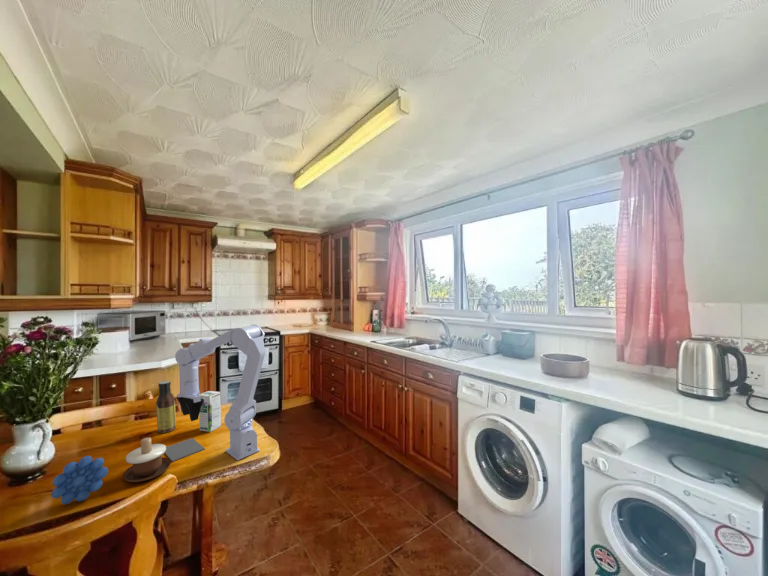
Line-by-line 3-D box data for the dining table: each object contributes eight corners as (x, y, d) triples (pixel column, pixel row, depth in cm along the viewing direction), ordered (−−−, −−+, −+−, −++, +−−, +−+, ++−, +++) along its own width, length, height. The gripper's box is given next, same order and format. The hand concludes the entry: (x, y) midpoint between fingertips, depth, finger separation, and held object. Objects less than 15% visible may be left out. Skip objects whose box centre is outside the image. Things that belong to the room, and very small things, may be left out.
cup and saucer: (120, 474, 99) (119, 455, 99) (166, 458, 108) (165, 440, 108) (126, 492, 91) (125, 470, 91) (175, 473, 99) (174, 454, 99)
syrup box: (198, 430, 128) (197, 394, 127) (210, 424, 133) (209, 390, 133) (210, 432, 126) (209, 396, 126) (221, 425, 132) (220, 391, 131)
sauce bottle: (165, 426, 132) (163, 379, 131) (179, 426, 131) (178, 379, 131) (153, 434, 125) (151, 384, 125) (168, 434, 125) (166, 384, 124)
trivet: (204, 449, 113) (204, 448, 113) (172, 461, 106) (172, 460, 106) (192, 438, 121) (192, 437, 121) (161, 449, 113) (161, 448, 113)
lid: (170, 452, 100) (170, 437, 100) (131, 467, 92) (131, 451, 92) (159, 443, 106) (159, 428, 106) (121, 456, 98) (121, 441, 98)
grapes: (113, 485, 94) (111, 444, 94) (106, 498, 88) (105, 455, 88) (59, 498, 88) (57, 456, 88) (48, 514, 82) (46, 468, 82)
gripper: (170, 379, 117) (171, 415, 118) (184, 387, 108) (185, 426, 108) (191, 374, 123) (192, 409, 123) (206, 381, 113) (207, 419, 114)
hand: (190, 417), depth 116 cm, fingers open, 7 cm apart
